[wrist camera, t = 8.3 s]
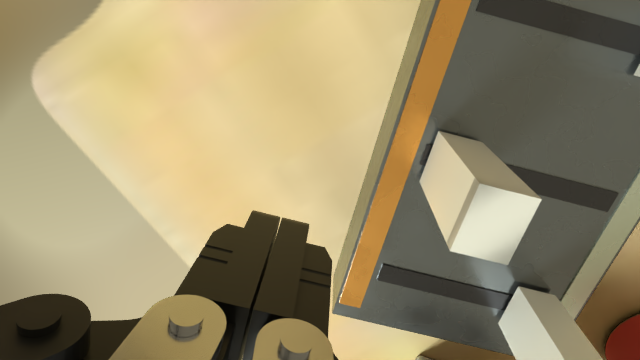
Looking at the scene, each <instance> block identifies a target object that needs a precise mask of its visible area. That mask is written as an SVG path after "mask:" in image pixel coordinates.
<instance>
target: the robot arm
mask: <svg viewBox="0 0 640 360" xmlns="http://www.w3.org/2000/svg"><path fill="white" fill-rule="evenodd" d="M279 221H280V217H278V216H274V215H270V214H266V213H262V212H258V211H252V213H251V215H250V217H249V219H248V221H247V223H246V225H245V227H244V228H242V227H238V226H234V225H230V224H226V225H225V226H223V227H221V228H220V229H218V230H216V231H214V232H213V233H212V235H211V236H210V238H209V240H208V241H207V243H206V245H205V247H204V248H203V249H202V251H201V253H200V254H199V257H198V258H197V259H196V261H195V262H194V264H193V266H192V267H191V269H190V271H189V272H188V274H187V276H186V277H185V279H184V280H183V282H182V284H181V285H180V287H179V289H178V290H177V292H176V294H175V295H174V296H171V297H168V298H165V299H163V300H161V301H159V302H157V303H156V304H155V305H153V306H152V307H151V308H150V309H149V310H148V311H147V312H146V314H145V315H144V316H143V317H142V318H138V319H132V320H117V321H91V314H90V311H89V309H88V307H87V306H86V305H85V304H84V303H83V302H82V301H80V300H79V299H76V298H74V297H71V296H68V295H61V294H42V295H36V296H31V297H27V298H24V299H20V300H17V301H14V302H11V303H8V304H5V305H1V306H0V360H338V359H337V357H336V356H335V355H334V353H333V349H332V346H331V343H330V341H329V340H328V324H329V307H330V287H331V272H332V260H331V258H330V256H329V254H328V252H327V251H326V249H325V247H321V246H317V245H313V244H308V243H306V241H307V235H308V229H309V224H307V223H303V222H299V221H295V220H291V219H286V218H282V220H281V223H280V227H279V230H278V225H279ZM277 230H278V233H277ZM276 234H277V236H276ZM275 238H276V239H275ZM242 357H243V358H242Z"/></svg>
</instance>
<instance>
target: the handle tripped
mask: <svg viewBox="0 0 640 360" xmlns="http://www.w3.org/2000/svg"><path fill="white" fill-rule="evenodd" d="M419 182H420V184H421V186H422V189H423V191H424V193H425V196H426V198H427V200H428V202H429V205H430V207H431V209H432V212H433V214H434V216H435V218H436V221H437V223H438V225H439V228H440V230H441V232H442V234H443V237H444V239H445V241H446V244H447V246H448V248H449V250H450V251H452V252H456V253H460V254H464V255H468V256H472V257H476V258H480V259H484V260H488V261H492V262H496V263H501V264H505V265H508V264H509V262H510V260H511V258H512V256H513V254H514V252H515V250H516V248H517V246H518V244H519V242H520V240H521V239H522V237H523V235H524V233H525V231H526V229H527V227H528V225H529V223H530V221H531V219H532V217H533V215H534V214H535V212H536V210H537V208H538V206H539V204H540V202H541V200H542V199H541V198H540V197H539V196H538V195H537V194H536V193H535V192H534V191H533V190H532V189H531V188H530V187H529V186H527V185H526V184H525V183H524V182H523V181H522V180H521V179H520V178H519V177H518V176H517V175H516V174H515V173H514V172H513V171H512V170H511V169H510V168H509V167H508V166H507V165H506V164H504V163H503V162H502V161H501V160H500V159H499V158H498V157H497V156H496V155H495V154H494V153H493V152H492V151H491V150H490V149H489V148H488V147H487V146H486V145H485V144H484V143H483V142H480V141H476V140H472V139H468V138H464V137H461V136H457V135H453V134H449V133H445V132H441V131H438V134H437V136H436V139H435V141H434V144H433V147H432V149H431V152H430V155H429V157H428V160H427V163H426V165H425V168H424V171H423V173H422V176H421V179H420V181H419Z"/></svg>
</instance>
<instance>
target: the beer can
mask: <svg viewBox="0 0 640 360" xmlns="http://www.w3.org/2000/svg"><path fill="white" fill-rule="evenodd" d="M605 356H606V359H607V360H640V314H638V315H635V316H632V317H630V318H628V319H627V320H625V321H624V322H622V323H620V324H619V325H618V326H617V327H616V328H615V329H614V330H613V331H612V332H611V334H610V336H609V338H608V340H607V342H606V350H605Z"/></svg>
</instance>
